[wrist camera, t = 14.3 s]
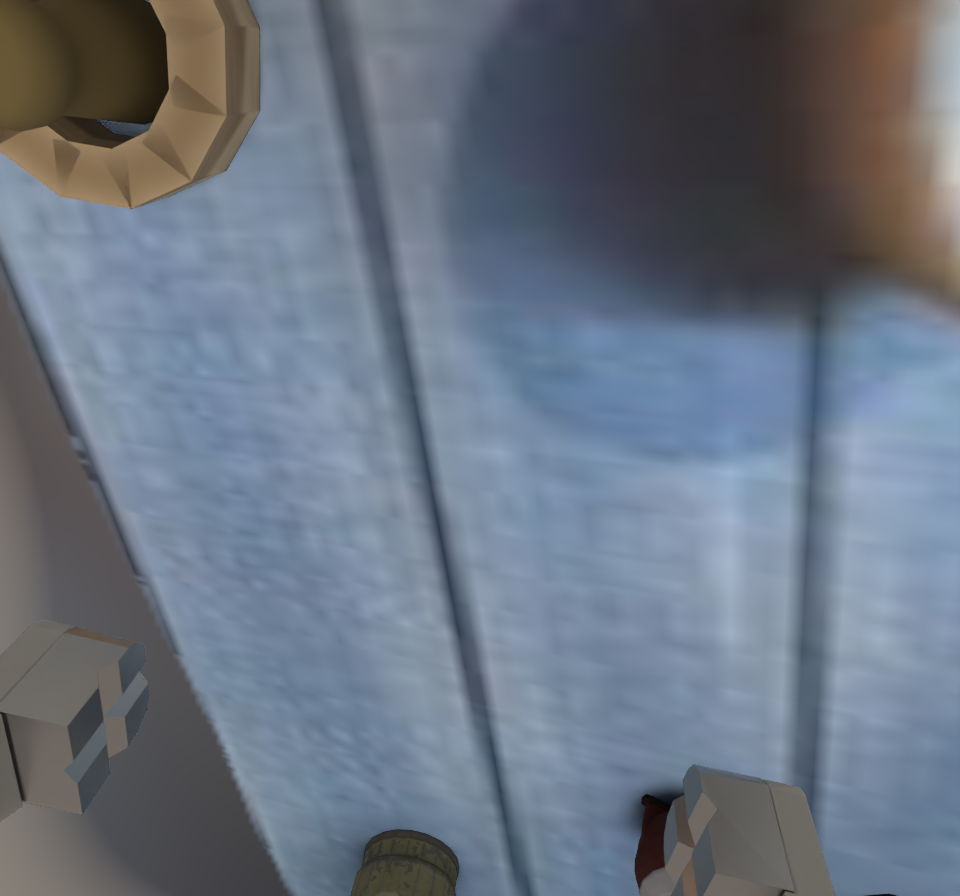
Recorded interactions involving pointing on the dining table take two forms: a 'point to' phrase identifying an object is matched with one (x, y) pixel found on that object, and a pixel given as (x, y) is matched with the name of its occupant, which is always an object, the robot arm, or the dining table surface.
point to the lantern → (883, 895)
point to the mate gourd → (653, 851)
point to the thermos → (406, 866)
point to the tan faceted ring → (160, 116)
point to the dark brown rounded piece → (80, 61)
